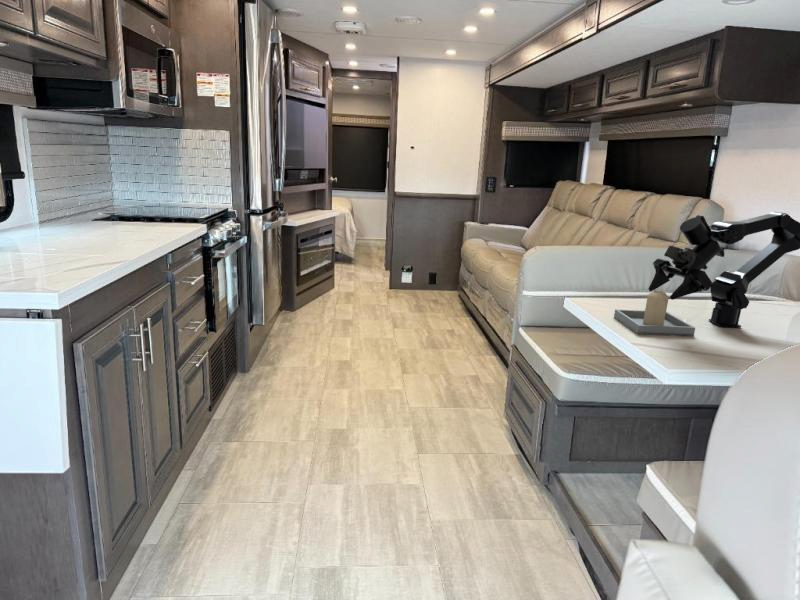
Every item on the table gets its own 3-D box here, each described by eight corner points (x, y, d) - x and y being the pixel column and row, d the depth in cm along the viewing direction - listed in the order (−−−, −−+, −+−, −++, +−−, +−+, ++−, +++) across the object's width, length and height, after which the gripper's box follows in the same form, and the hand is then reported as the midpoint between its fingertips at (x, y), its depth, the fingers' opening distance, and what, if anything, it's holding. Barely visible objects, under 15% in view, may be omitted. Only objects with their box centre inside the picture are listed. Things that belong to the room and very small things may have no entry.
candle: (639, 323, 161) (645, 290, 158) (648, 320, 164) (654, 288, 162) (657, 328, 157) (663, 294, 154) (667, 325, 160) (673, 292, 158)
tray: (664, 319, 169) (666, 311, 168) (693, 336, 153) (695, 327, 153) (613, 317, 168) (615, 309, 167) (637, 334, 153) (639, 325, 152)
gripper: (663, 231, 164) (625, 268, 164) (711, 242, 147) (668, 283, 147) (681, 257, 168) (644, 293, 168) (729, 270, 150) (688, 310, 151)
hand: (659, 294), depth 158 cm, fingers open, 9 cm apart
